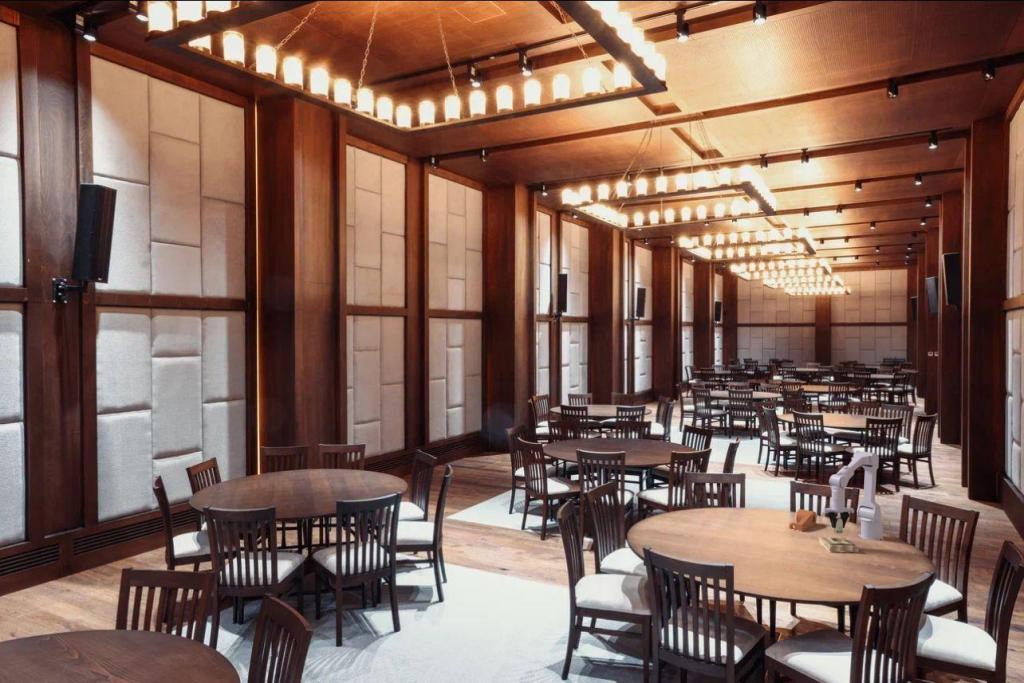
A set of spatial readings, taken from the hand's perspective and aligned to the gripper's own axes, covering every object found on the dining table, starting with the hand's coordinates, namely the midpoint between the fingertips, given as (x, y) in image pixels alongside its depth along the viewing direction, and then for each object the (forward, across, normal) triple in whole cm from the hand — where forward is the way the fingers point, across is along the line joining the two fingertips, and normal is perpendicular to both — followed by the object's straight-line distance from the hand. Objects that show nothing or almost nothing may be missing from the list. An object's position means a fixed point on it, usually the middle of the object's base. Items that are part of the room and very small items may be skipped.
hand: (838, 527), depth 334 cm
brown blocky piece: (+10, +2, -34) cm, 35 cm away
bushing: (+2, 0, 0) cm, 2 cm away
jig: (+9, +1, +3) cm, 10 cm away
